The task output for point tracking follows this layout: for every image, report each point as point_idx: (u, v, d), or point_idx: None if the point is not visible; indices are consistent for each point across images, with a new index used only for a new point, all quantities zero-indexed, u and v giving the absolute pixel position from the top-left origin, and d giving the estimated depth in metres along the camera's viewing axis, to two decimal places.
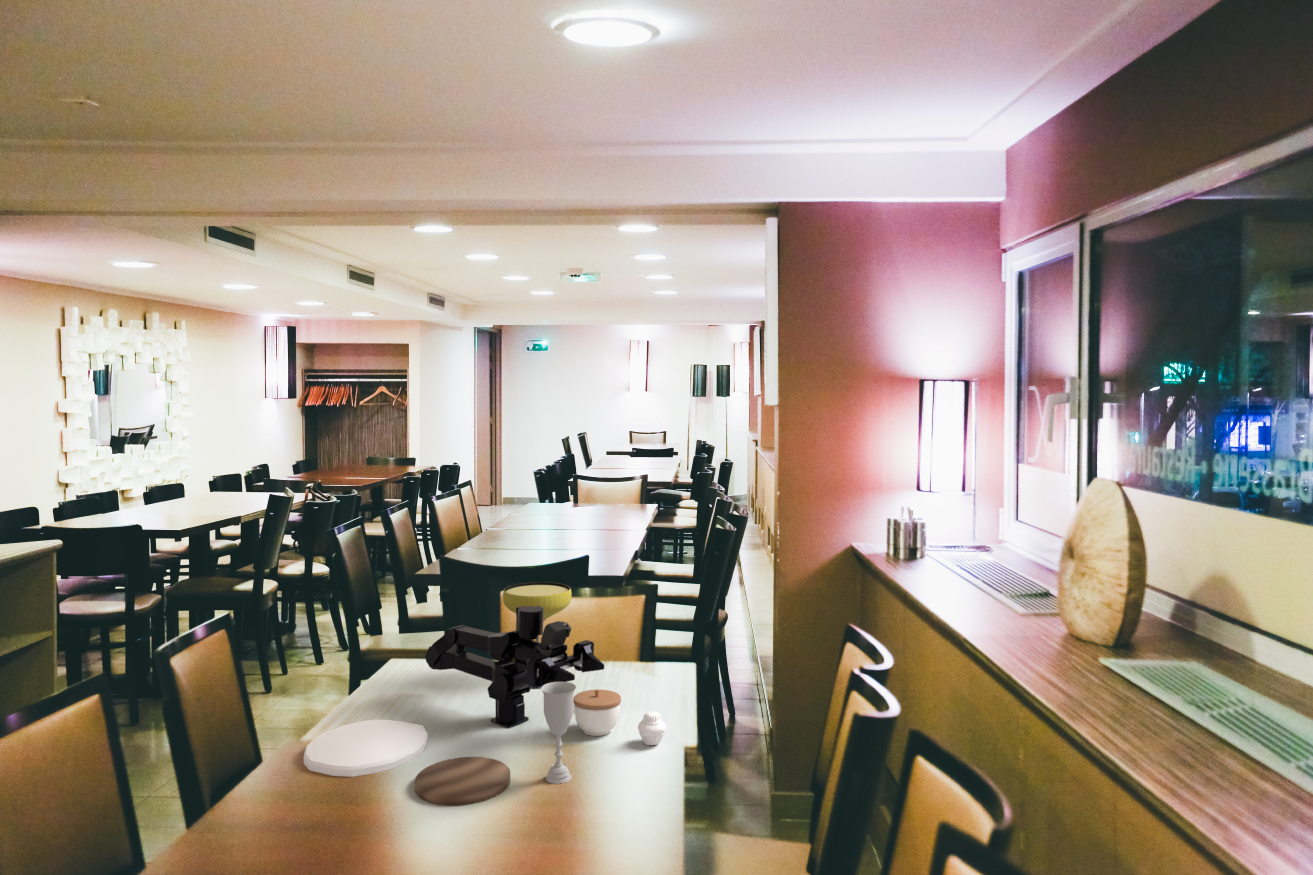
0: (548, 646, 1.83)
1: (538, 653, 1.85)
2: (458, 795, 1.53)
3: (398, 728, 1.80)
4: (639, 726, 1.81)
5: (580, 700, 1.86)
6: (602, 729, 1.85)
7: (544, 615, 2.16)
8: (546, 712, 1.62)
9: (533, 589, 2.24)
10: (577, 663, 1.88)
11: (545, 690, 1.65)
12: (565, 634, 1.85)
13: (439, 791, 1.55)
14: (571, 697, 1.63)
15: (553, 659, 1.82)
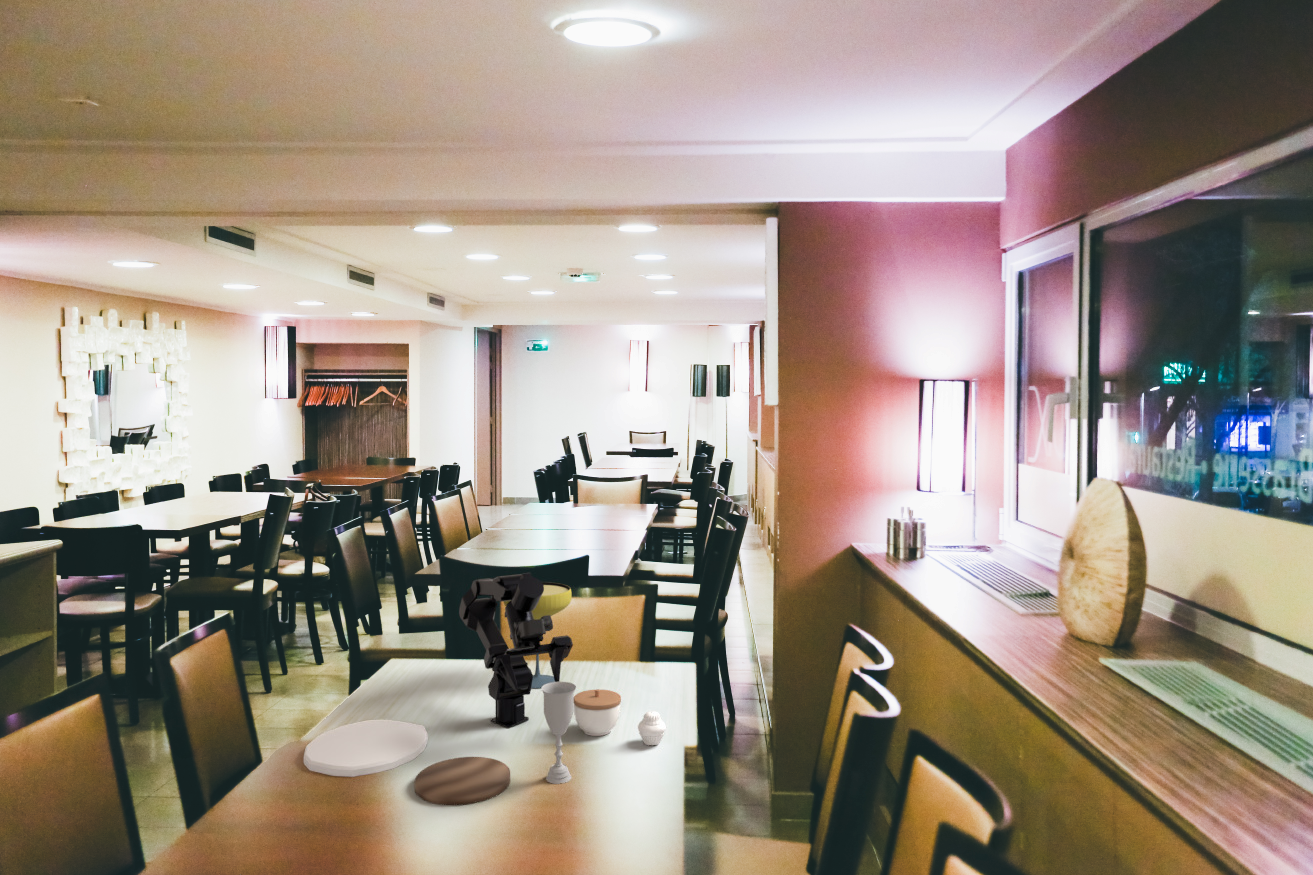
0: (520, 636, 1.80)
1: (515, 630, 1.83)
2: (458, 795, 1.53)
3: (398, 728, 1.80)
4: (639, 726, 1.81)
5: (580, 700, 1.86)
6: (602, 729, 1.85)
7: (544, 615, 2.16)
8: (546, 712, 1.62)
9: None
10: None
11: (545, 690, 1.65)
12: (542, 633, 1.80)
13: (439, 791, 1.55)
14: (571, 697, 1.63)
15: (519, 649, 1.81)
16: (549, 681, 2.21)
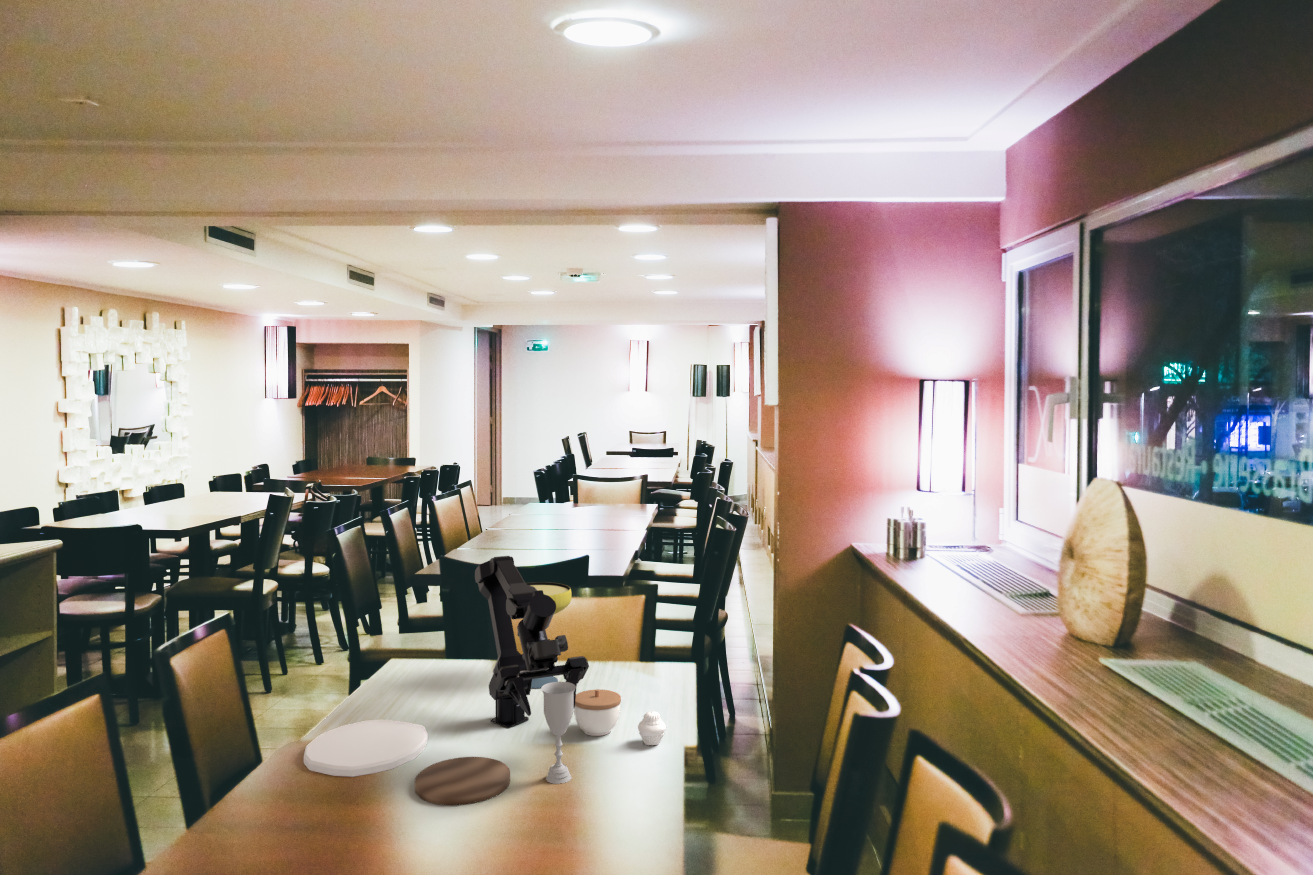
0: (533, 658, 1.70)
1: (528, 650, 1.74)
2: (458, 795, 1.53)
3: (398, 728, 1.80)
4: (639, 726, 1.81)
5: (580, 700, 1.86)
6: (602, 729, 1.85)
7: None
8: (546, 712, 1.62)
9: None
10: None
11: (545, 690, 1.65)
12: (556, 654, 1.70)
13: (439, 791, 1.55)
14: (571, 697, 1.63)
15: (532, 671, 1.71)
16: (549, 681, 2.21)
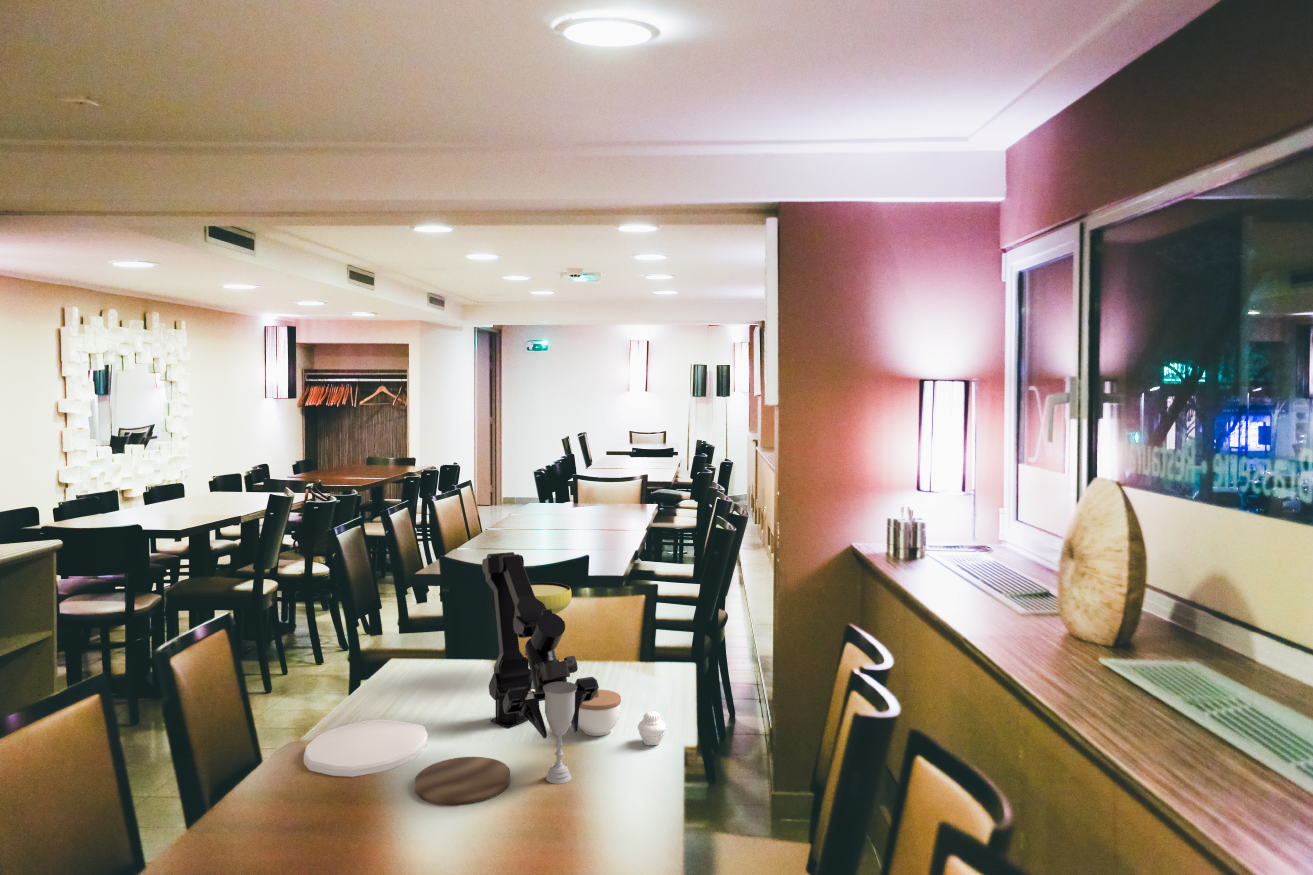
0: (542, 679, 1.66)
1: (536, 671, 1.69)
2: (458, 795, 1.53)
3: (398, 728, 1.80)
4: (639, 726, 1.81)
5: None
6: (602, 729, 1.85)
7: None
8: (548, 712, 1.62)
9: (533, 589, 2.24)
10: None
11: (546, 690, 1.65)
12: None
13: (439, 791, 1.55)
14: (572, 697, 1.63)
15: (541, 693, 1.66)
16: None
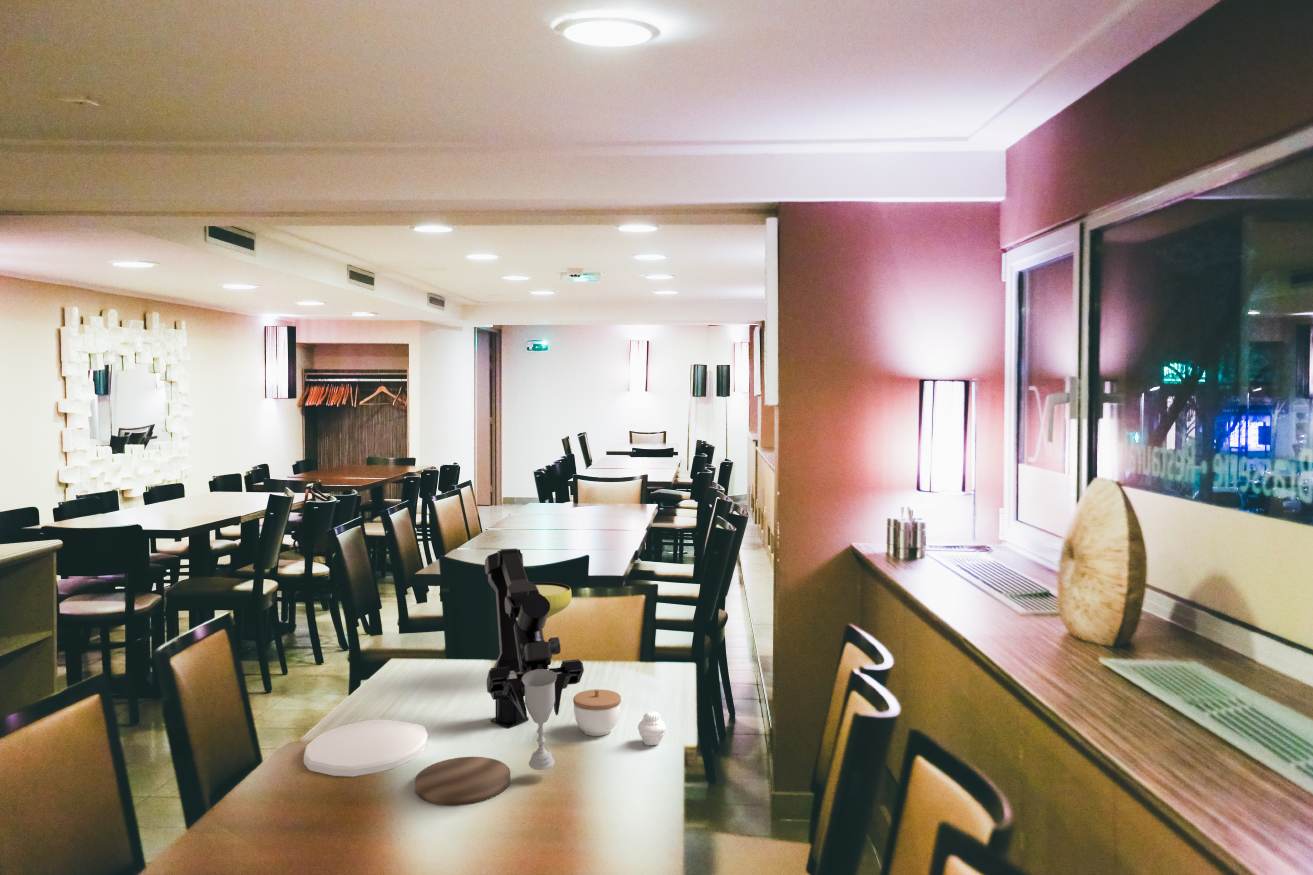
0: (525, 660, 1.65)
1: None
2: (458, 795, 1.53)
3: (398, 728, 1.80)
4: (639, 726, 1.81)
5: (580, 700, 1.86)
6: (602, 729, 1.85)
7: None
8: (527, 702, 1.61)
9: None
10: None
11: (527, 679, 1.63)
12: None
13: (439, 791, 1.55)
14: (551, 688, 1.61)
15: (524, 673, 1.65)
16: None
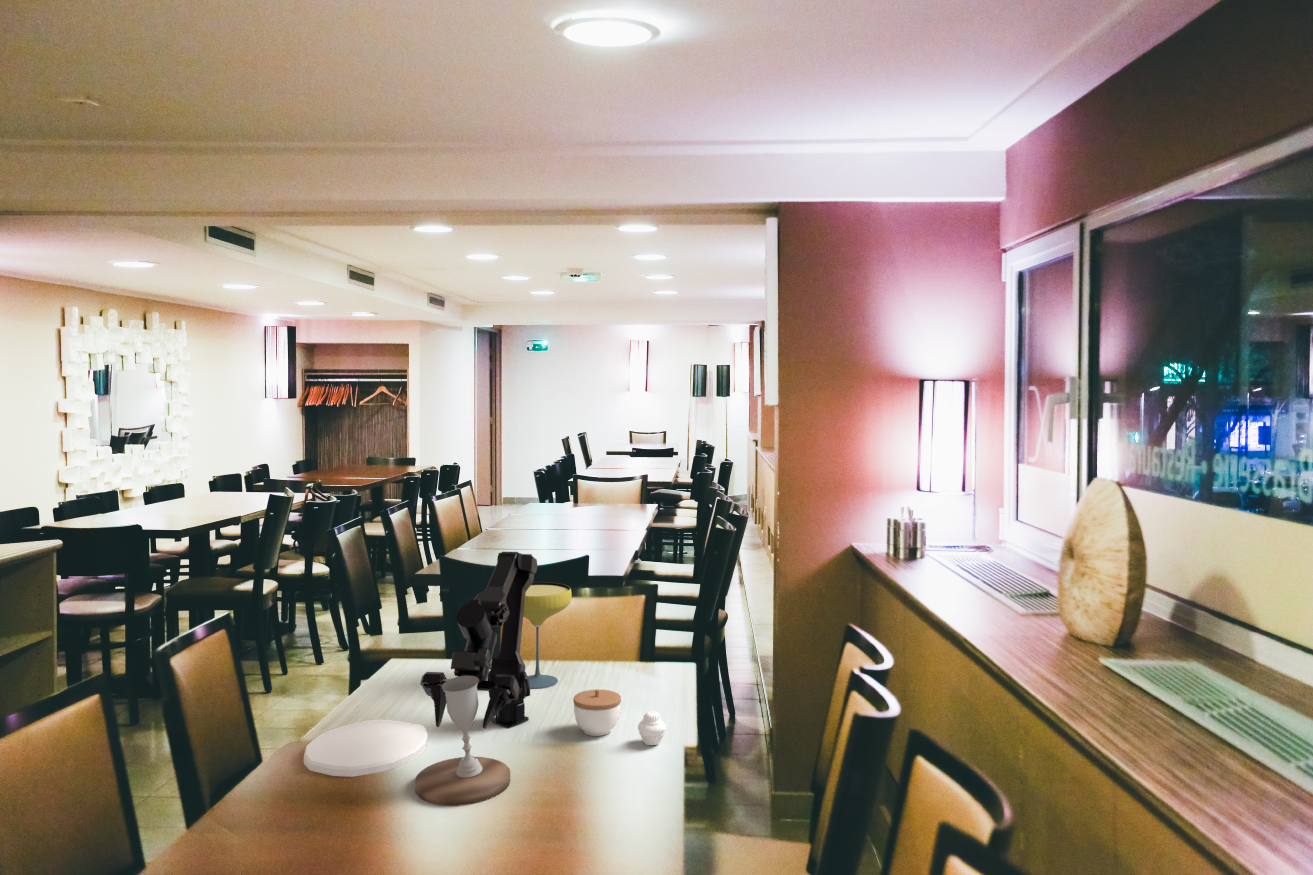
0: None
1: None
2: (458, 795, 1.53)
3: (398, 728, 1.80)
4: (639, 726, 1.81)
5: (580, 700, 1.86)
6: (602, 729, 1.85)
7: (544, 615, 2.16)
8: None
9: (533, 589, 2.24)
10: None
11: (454, 683, 1.63)
12: None
13: (439, 791, 1.55)
14: (467, 695, 1.59)
15: None
16: (549, 681, 2.21)
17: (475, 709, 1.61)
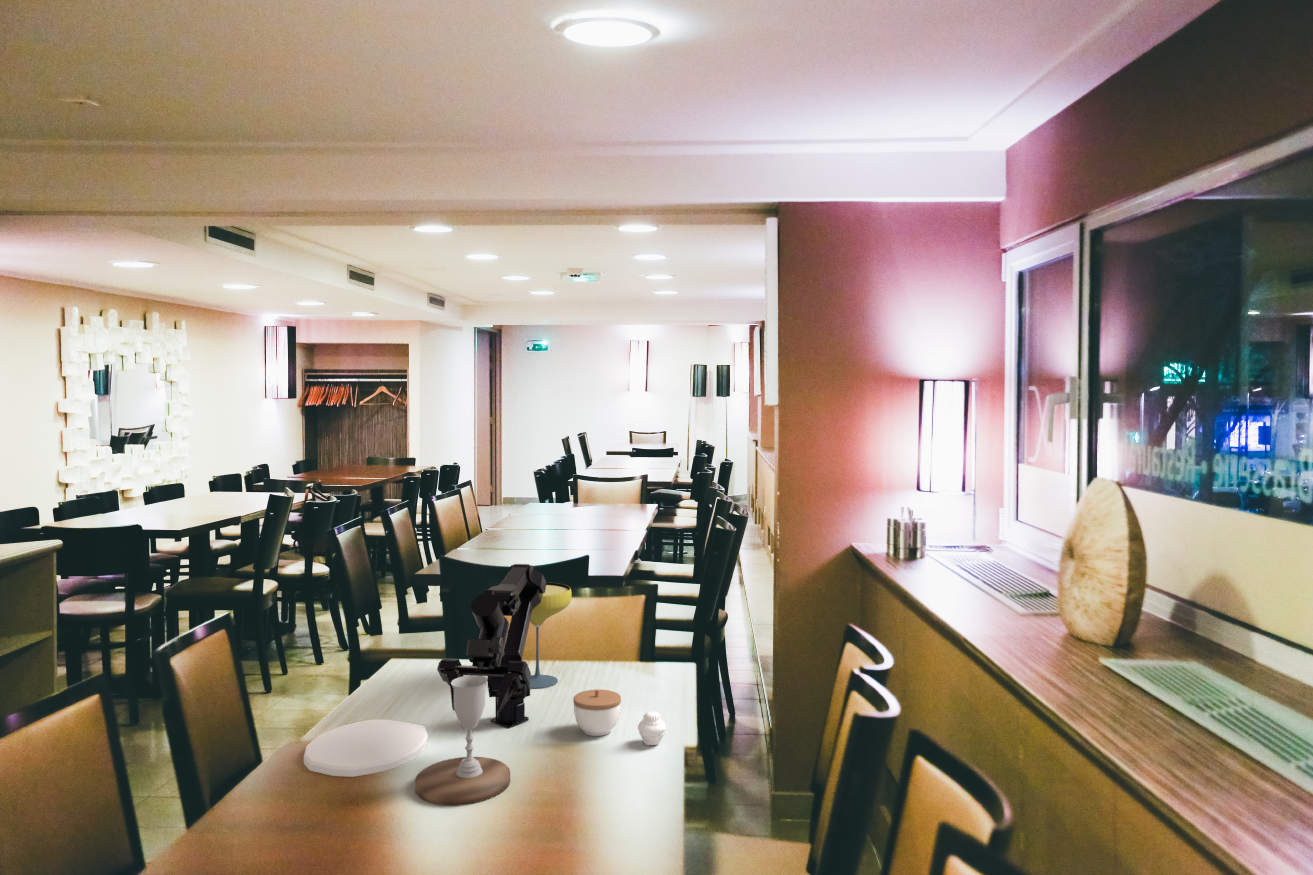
0: None
1: None
2: (458, 795, 1.53)
3: (398, 728, 1.80)
4: (639, 726, 1.81)
5: (580, 700, 1.86)
6: (602, 729, 1.85)
7: (544, 615, 2.16)
8: None
9: None
10: None
11: (462, 682, 1.65)
12: None
13: (439, 791, 1.55)
14: (475, 693, 1.61)
15: (472, 668, 1.74)
16: (549, 681, 2.21)
17: (481, 708, 1.62)
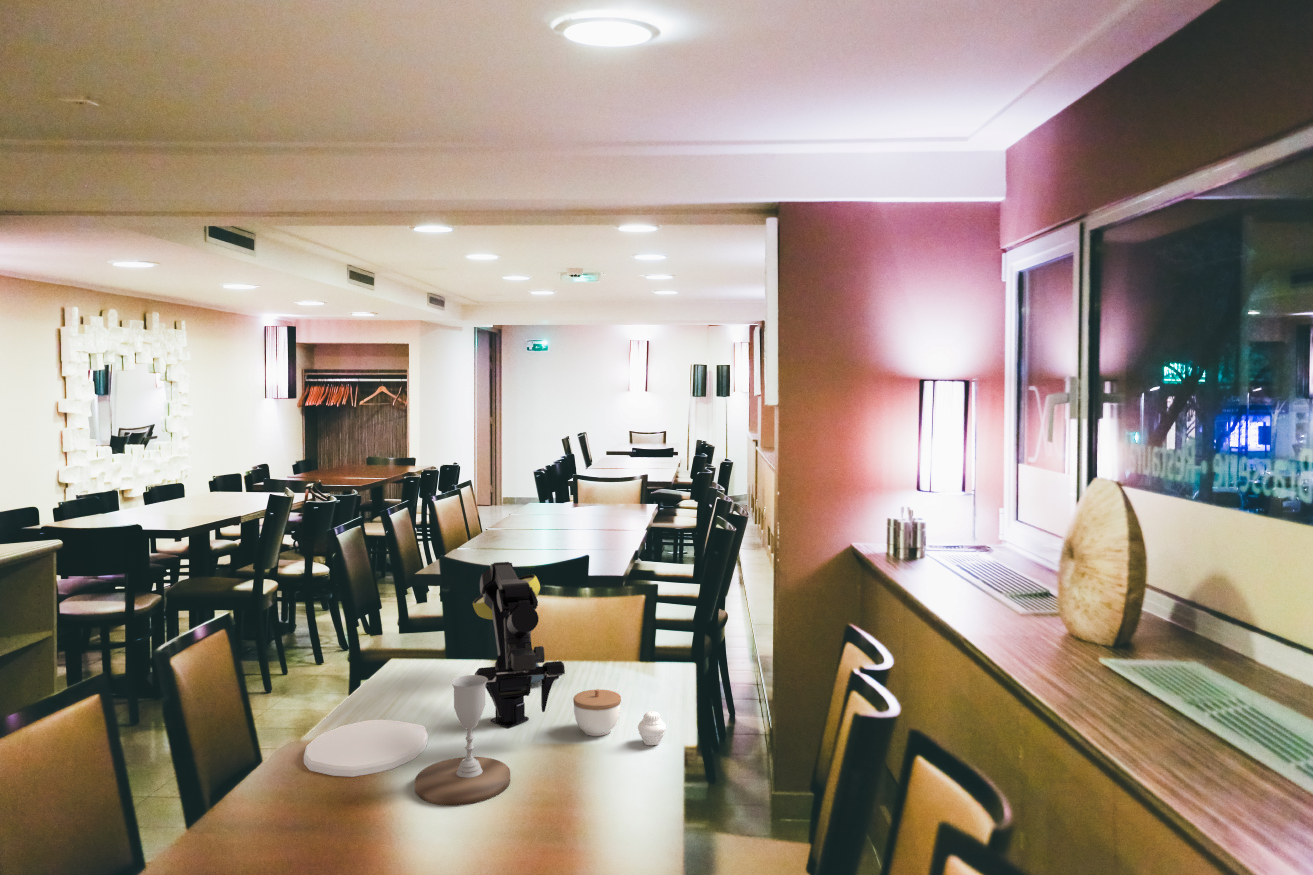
0: (511, 664, 1.77)
1: (508, 650, 1.80)
2: (458, 795, 1.53)
3: (398, 728, 1.80)
4: (639, 726, 1.81)
5: (580, 700, 1.86)
6: (602, 729, 1.85)
7: None
8: None
9: None
10: None
11: (462, 681, 1.65)
12: None
13: (439, 791, 1.55)
14: (475, 692, 1.61)
15: (509, 673, 1.79)
16: None
17: (482, 708, 1.62)
